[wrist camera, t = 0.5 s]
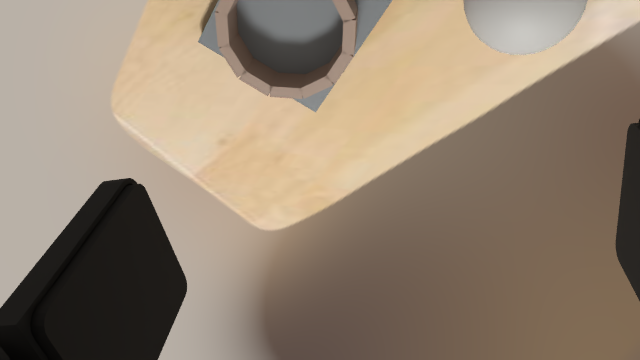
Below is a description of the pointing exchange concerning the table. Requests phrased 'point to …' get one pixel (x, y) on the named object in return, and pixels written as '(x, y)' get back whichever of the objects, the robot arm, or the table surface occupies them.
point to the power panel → (291, 42)
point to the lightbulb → (523, 23)
